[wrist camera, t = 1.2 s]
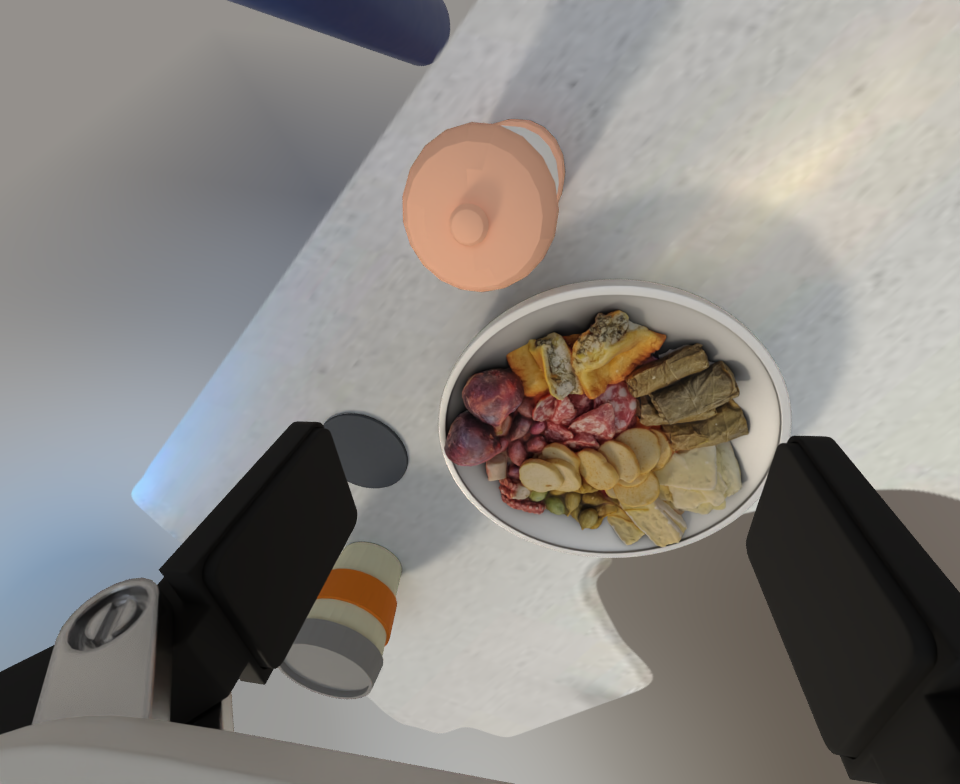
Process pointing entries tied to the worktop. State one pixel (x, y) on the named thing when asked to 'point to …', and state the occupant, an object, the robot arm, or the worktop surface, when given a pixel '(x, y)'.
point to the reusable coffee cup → (347, 625)
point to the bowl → (613, 418)
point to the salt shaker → (484, 202)
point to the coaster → (368, 450)
